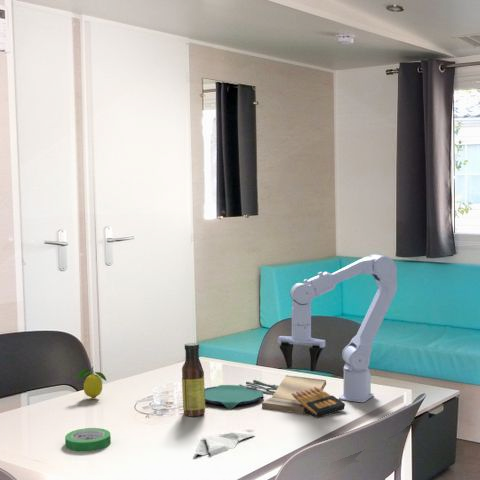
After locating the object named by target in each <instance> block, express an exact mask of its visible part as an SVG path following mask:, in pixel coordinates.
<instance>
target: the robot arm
mask: <svg viewBox="0 0 480 480" xmlns="http://www.w3.org/2000/svg"><path fill="white" fill-rule="evenodd" d="M397 272H398V268H397V266H396V264H395V261H394V260H393V259H392V258H391V257H389V256H387V255H385V256H384V255H382V254H379V253H372V254H370V255H369V256H368V255H367V256H364V257H362V258H360V259H358V260H356V261H354V262H352V263H350V264H348V265H346V266H344V267H342V268H340V269H338V270H336V271H334V272H333V273H330V272H328V271H324V272H323V271H319V272H317V275H315V276H313V277H311V278H309V279H307V278H305V279H304V280H303V282H297V283H295V284H294V285H292V287H291V289H290V291H289V296H290V298H291V299H292V300H291V301H292V302H291V306H292V307H291V336H290V335H289V336H287V335H279V336H278V337H277V344H280V345H279V349H280V350H281V353H282V355H283V357H284V361H285V364H286V369H291V368H292V367H293V351H294V345H295V346H296V345H298V346H308V347H309V348H308V350H309V356H310V357H309V358H310V371H311V372H315V371H316V368H317V364H318V362H319V361H318V360H319V358H320V355H321V354H322V351H323V349H324V348H325V347H326V339H319V338H314V337H312V309H311V305H312V303H311V302H312V301H313V299H316V298H318V297H320V296H322V295H325V294H327V293H329V292H331V291H334V290H335V287H336V285H337V284H338V283H341V282H343V281H347V280H348V279H351V278H353V277H355V276H358V275H362V274H363V275H368V276H369V275H370V276H372V277H373V278H374V280H375V283H376V286H377V287H378V289H377V290H376V293H375V294H374V297H373V299H372V301H371V303H370V305H369V307H368V310H367V311H366V314H365V316H364V318H363V320H362V322H361V324H360V327H359V328H358V331H357V333H356V334H355V336H353V337H352V338H351V340H350V342H349V343H348V344H347V345H346V346H345V347H344V348H343V349H342V351H341V352H342V353H341V356H342V357H341V358H342V360H343V362H345V363H344V366H343V394H341V396H339V397H338V399H339V400H340V401H343V400H344V401H348V402H349V401H350V402H358V403H365V402H366V401H367V400H369V399H370V398H372V397H373V396H374V393H372V390H371V389H372V386H371V385H372V383H371V382H372V381H371V380H372V375H371V372H370V370H369V365H370V363H371V354H372V351H373V342H374V339H375V337H376V335H377V333H378V331H379V329H380V327H381V325H382V322H383V321H384V318H385V316H386V314H387V312H388V311H389V309H390V306H391V303H392V302H393V299H394V297H395V295H396V293H397V291H398V280H397V278H398V277H397Z"/></svg>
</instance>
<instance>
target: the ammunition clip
mask: <svg viewBox="0 0 480 480" xmlns="http://www.w3.org/2000/svg"><path fill="white" fill-rule="evenodd" d="M314 389H315V390H314ZM314 389H312V388H310V391H309V390H306V389H305V391H306V392H307V393H306V392H304V391H301V393H302V394H301V393H299V392H296V393H297V395H296V394H294V393H292V395H293V397H294V398H295V399H296V400H298V401H299V402H300V403H301V404H302V405H303V406H305V407H306V409H307V410H308V411H307V412H309V413H311V414H312V415H313V416H314V417H315V418H317V419H319V418H321V417H325V416H328V415H330V414H331V415H332V414H334V413H337V412H338V413H339V412H340V411H343V410H345V407H346V403H344V401H343V400H341V399H339V398H337V397H336V396H334V395H331V394H329V393H328V392H326V391H324V389H323V390H321V389H319V388H317V387H314Z"/></svg>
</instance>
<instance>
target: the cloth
mask: <svg viewBox="0 0 480 480" xmlns="http://www.w3.org/2000/svg"><path fill="white" fill-rule="evenodd" d="M250 432H251V433H250ZM253 432H255V429H244V430H240V431H239V430H238V431H237V430H231V431H227V432H221V433H220V432H219V433H218V434H209V435H204V436H202V437H201V439H199V440H198V443H197V445H196V448H195V453H194V455H193V457H192V459H193V460H195V459H196V457H197V456H198V455H200V456H203V457H204V456H207V455H211V457H215V456H217V455H219V454H220V455H221V454H222V453H225V452H228V451H230V450H232V449H233V450H234V448H235V447H237V445H238V442H240V441H242V440H243V439H244V440H246V439H248V438H251V437H255V434H252V433H253Z"/></svg>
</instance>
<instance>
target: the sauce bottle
mask: <svg viewBox="0 0 480 480" xmlns="http://www.w3.org/2000/svg"><path fill="white" fill-rule="evenodd" d="M199 349H200V344H199V343H197V342H187V343H185V344H184V351H185V361H184V363H183V365H182V367H181V374H182V376H181V383H182V384H181V385H182V387H181V388H182V408H183V414H184V415H186V416H189V417H199V416H203V415H204V414H205V412H206V401H205V389H206V388H205V371H204V369H203V365H202V363H201V360H200V353H199V352H200V351H199Z"/></svg>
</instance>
